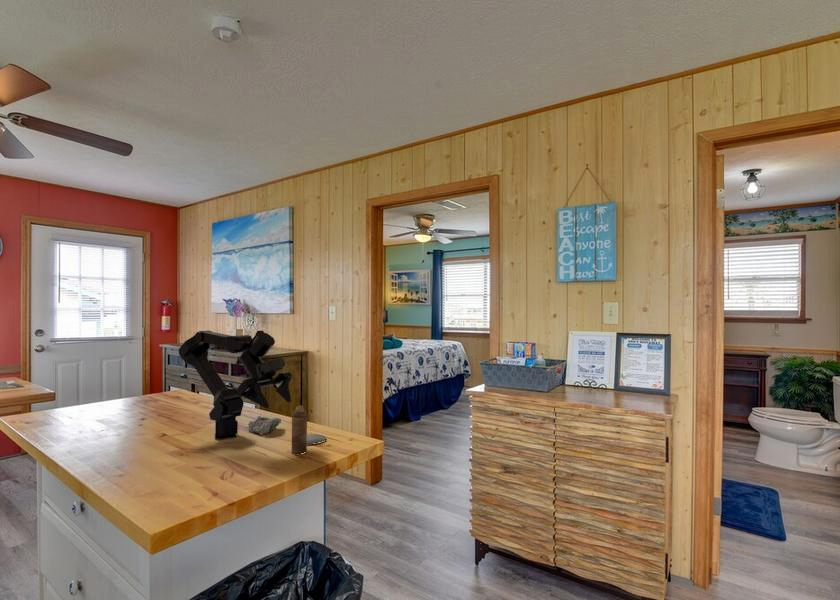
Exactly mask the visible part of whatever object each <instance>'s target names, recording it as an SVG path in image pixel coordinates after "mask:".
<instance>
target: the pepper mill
mask: <svg viewBox="0 0 840 600" xmlns="http://www.w3.org/2000/svg"><path fill="white" fill-rule="evenodd" d="M307 435H308V415H307V411H306V410H305V409H304V406H303V405H297V406H296V407H295V410H294V411H292V416H291V454H292V453H293V454H301V453H304V452H306V451H308V450H307V449H308V448H307V447H308V445H307ZM293 454H292V455H293Z"/></svg>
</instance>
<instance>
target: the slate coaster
mask: <svg viewBox="0 0 840 600" xmlns="http://www.w3.org/2000/svg"><path fill="white" fill-rule="evenodd" d="M325 439H326V440H327V437H326V436H325V435H322V434H316V433H315V434H314V433H313V434H312V433H311V434H307V444H313V443H318V442H322V441H324V440H325Z"/></svg>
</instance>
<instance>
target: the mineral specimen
mask: <svg viewBox="0 0 840 600" xmlns="http://www.w3.org/2000/svg"><path fill="white" fill-rule="evenodd" d="M281 423H282V418H279V417H277V416H276V417H273V418H269V417H267V416H261V415H257V416H256V418H255V419H253V420H251V421H249V422H248V424H247V425H248V433H256V434H259V435H261V434H262V435H264V434H265V433H268V434H271V431H273V430H274V429H276V428H277V427H278V426H279V425H280V424H281ZM265 435H266V434H265Z"/></svg>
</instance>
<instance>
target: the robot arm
mask: <svg viewBox="0 0 840 600" xmlns="http://www.w3.org/2000/svg"><path fill="white" fill-rule="evenodd" d="M275 343H276V341H275V338H274V337H273V336H272V335H270V334H269V333H266V332H264V330H257V331H256V333H255V334H254V336H253V338H252V336H251V335H249V334H244V335H243V334H239V335H230V334H225V333H220V332H216V331H211V330H199V331H197V332H196V333H195V334H194V335H193V336H192V337H190V338H188V339H187V340H185V341H184V342H183V343H182V344H181V346H179V349H178V355H179V357H180V358H181V360H183V362H184V363H185V364H187V365H189V366H191V367H193V368H194V369H195V370H196V372H197V374H198V375H199V376H200V378H201V380H202V381H203V383H204V384H205V385H206V387H207V388H208V390H209V391H210V393H211V395H212V396H213V401H212V402H213V403H212V404H213V407H212V408H211V410H210V411H209V413H208V415H209V419H210V420H211V421H215V423H214V424H215V425H214V426H215V427H214V439H215V440H221V439H222V440H223V439H231V438H236V437H237V435H238V429H239V428H238V425H239V424H238V420H237V417H240V416H241V415H242V411H243V407H244V404H245V403H244V400H243V399H247V400H250V401H251V402H254V403H256V404H257V405H259V406H261V407H263V408H265V409H269V408H270V405H269V403H268V400H267V399H266V397H265V395H264V394H263V392H262V388H265V387H270V386H273V388H274V389H275V392H276V393H277V394H278V395H280V396H281V397H282V399H283V400H284V401H286V402H287V403H288V404H289V403H291V402H292V398H291V392H290V386H289V384H290V382H291V381H292V379H293V378H294V376H293V374H292V373H291V372H290V371H283V372H279V373H278V374H277V373H276V372H278V371H280V370H283V368H284V367H285V366H286V364H285V360H284V358H282V357H277V358H274V359H270V360H268V361H264V360H263V359H262V358H264V357H265V356H266V355H267V354H268V353H269V351H270V350H271V349H272V348H273V346H274V345H275ZM211 345H213V346H218V347H222V348H223V349H225V351H227V352H229V353H230V354H241V355H240V356H237V359H236V362H235V365H237V366H238V365H242V366H243V368H244V370H245V371H246V375H245V377H246V378H244V379H243V380H242V381H241V383H240V384H239V385H238V386H237V388H236V387H233V388H232V387H231V388H229V387H227V385H226V383H225V382H224V380H223V379H222V377H221V376H220V375H219V373H218V372H217V371H216V369H215V368H214V366H213V365H212V363H211V362H210V361H209V359H208V357H209V350H210V349H211ZM276 374H277V376H276ZM275 376H276V377H275ZM274 377H275V378H274ZM242 397H243V398H242Z"/></svg>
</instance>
